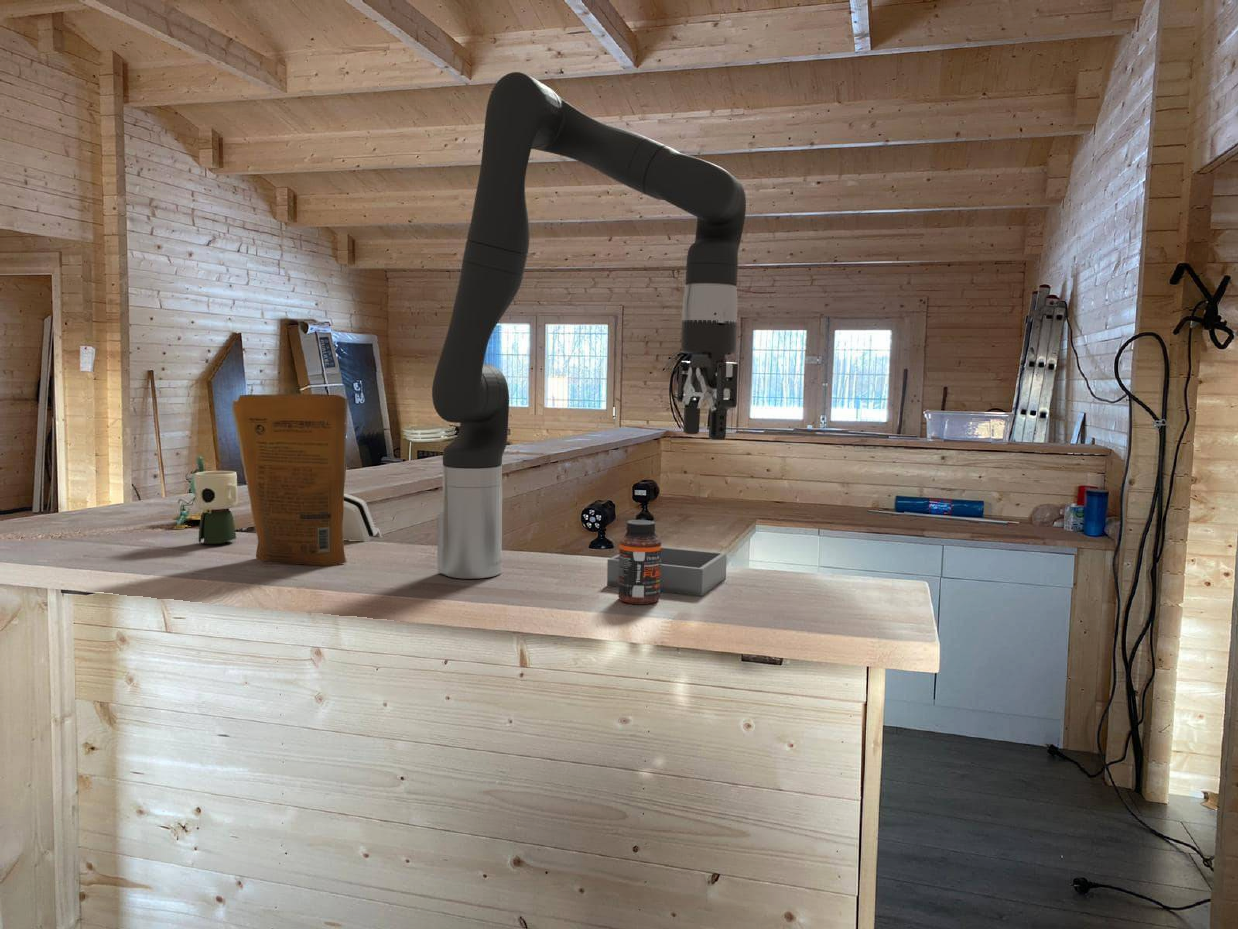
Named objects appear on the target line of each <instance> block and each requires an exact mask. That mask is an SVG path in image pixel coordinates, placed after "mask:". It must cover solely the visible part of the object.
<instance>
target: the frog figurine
mask: <svg viewBox="0 0 1238 929" xmlns="http://www.w3.org/2000/svg"><path fill="white" fill-rule="evenodd" d="M196 461H197V465H198V468H196V469H195V470H194V471H193V475H194V474H195V473H198V472H205V471H206V470H205V466H204V462H203V457H202V456H199V455H198V456H197V457H196ZM214 471H218V470H217V469H216V470H214ZM189 489H190V493H191V494H193V495H194V497H193V498H192V499H190V500H189V501H188V502H187V501H185V500H183V499H180V498H179V499H178V501H177V504H178V505H179V503H180V502H183V503H184V504H182V505H180V508H179V514H177V515H176V516H175V515H174V516H173V517H172V518H171V519H172V521H176V525H173V529H174V530H184V529H186V528H185V527H187V528H191V527H192V526H188V525H189V524H185V522H184V521H188V520H189V521H190V520H200V519H201V515H202V513H203V512H200V513H201V514H199V512H193V514H195V515H191V514H189V513H190V511H191V509H190V508H188V510H186V509H185V507H186V506H193V505H194V504H195V502H194V501H195V488H194V476H193V477H191V480H190V482H189ZM191 502H192V503H191ZM190 503H191V504H190Z"/></svg>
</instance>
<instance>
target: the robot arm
mask: <svg viewBox="0 0 1238 929" xmlns="http://www.w3.org/2000/svg"><path fill="white" fill-rule="evenodd" d="M482 141H483V142H482V153H481V162H480V170H479V177H478V181H477V187H476V192H475V196H474V201H473V202H474V204H473V210H472V213H471V219H470V225H469V228H468V233H467V236H466V240H465V245H464V252H463V256H462V262H461V270H460V276H459V282H458V286H457V291H456V295H455V300H454V303H453V308H452V312H451V313H452V314H451V317H450V321H449V326H448V330H447V333H446V337H445V340H444V343H443V345H442V346H443V347H442V349H441V353H440V355H439V360H438V363H437V366H436V370H435V372H434V373H435V374H434V376H433V380H432V381H433V382H432V389H431V398H432V405H433V406H434V411H435V412H436V413H437V415H438V416H439V417H440V418H441V419H442V420H443V421H445V422H448V423H452V424H459V431H458V433H457V435H456V437H454V439H453V440H452V441H451V442H450V443H448V444H447V445H446V446H445V447H444V448H443V450H442V512H439V513H438V514H437V519H436V520H437V523H436V524H437V574H442V575H444V576H447V577H450V578H456V579H470V580H471V579H472V580H473V579H485V578H490V577H491V578H492V577H495V576H498V575H500V574H501V573H502V563H503V559H502V558H503V557H502V556H503V554H502V547H503V542H502V540H503V536H502V535H503V534H502V531H503V522H502V521H503V519H502V518H503V511H502V510H503V466H502V465H503V456H504V455H503V454H504V452H505V450H506V447H507V443H508V435H509V434H508V433H509V419H510V418H509V417H510V416H509V414H510V392H509V386H508V382H507V379H506V377H505V375H504V373H503V371H502V370H500V369H499V368H498V367H497V366H494V365H492V364H489V363H484V361H485V358H486V353H487V350H488V349H487V348H488V345H489V342H490V338H491V336H492V334H493V332H494V330H495V328H496V327H497V324H498V323H499V321H500V320H501V319H502V317H503V316H504V314H505V312H506V311H507V309H508V308H509V307H510V305H512V302H513V300H515V298H516V295H517V293H518V292H519V289H520V287H521V285H522V281H523V279H524V273H525V268H526V264H527V260H528V254H529V249H530V236H531V235H530V223H529V222H530V221H529V215H528V206H527V200H526V176H527V169H528V164H529V160H530V156H531V152H532V150H535V151H541V152H544V153H548V154H554V155H559V156H562V157H566V158H569V159H573V160H575V161H577V162H579V163H583V164H584V165H587V166H589V167H591V168H593V169H594V170H596V171H598V172H600V173H601V174H603V175H605V176H606V177H609V178H611V179H612V180H614V181H616V182H618V183H620V184H622V185H624V186H626V187H629V189H633V190H634V191H637V192H639V193H641V194H644V195H646V196H648V197H651V198H653V199H656V200H660V201H665V202H667V203H669V204H670V205H673V206H675V207H676V208H678V209H681V210H682V211H685V212H686V213H688V214H690V215H692V216H694V217H696V231H695V239H694V243H692V244H691V245H690V246H689V248H688V250H687V257H686V266H685V267H686V268H685V286H684V287H685V288H684V294H683V300H682V312H681V316H682V317H681V335H680V336H681V337H680V351H681V352H682V353H683V354H690V360H689V361H688V360H680V361H679V365H678V366H679V367H678V368H679V369H678V380H677V382H678V383H677V396H676V397H677V398H676V401H677V402H678V403H681V407H682V408H683V427H682V428H683V429H682V431H683V433H684V434H686V435H698V434H699V433H700V424H701V423H700V421H701V408H700V407H701V405H702V403H703V400H704V399H707V401H708V406H709V408H710V411H709V423H708V424H709V426H708V438H709V439H710V440H713V441H715V440H716V441H723V440H725V439H726V437H727V419H728V418H727V417H728V412H730V411H731V409H735V408H737V405H738V369H739V368H738V367H739V365H738V363H737V362H729V361H727V360H726V356H730V355H731V356H732V355H734V354H735V352H736V343H737V322H738V306H739V305H738V291H737V288H738V287H737V285H738V268H739V260H738V259H739V258H738V256H739V254H738V253H739V249H740V246H741V241H742V235H743V231H744V224H745V221H746V212H747V211H746V210H747V199H746V191H745V189H744V187H743V184H742V183H741V182H740V181H739V180H738V179H737V178H736V177H734V176H733V175H732V173H730V172H729V171H727V170H726V169H724V168H723V167H721V166H719V165H716V164H715V163H712V162H709V161H707V160H704V159H701V158H698V157H695V156H692V155H688V154H683V153H681V152H679V151H678V150H676V149H674V148H673V147H670V146H668V145H666V144H663V143H661V142H659V141H656V140H653V138H652V139H651V138H649V137H647V136H644V135H642V134H639V133H637V132H634V131H632V130H631V131H630V130H628V129H624V128H620V127H617V126H613V125H610V124H606V123H603V122H601V121H599V120H598V119H595V118H593V117H591V116H589V115H587V114H585V113H583V112H582V111H580V110H579V109H577V108H576V107H575V106H573V105H571V104H570V103H569V102H567V101H566V100H564V99H563V98H562V97H561V96H559V95H558V94H557V93H556V92H555V91H554V90H553V89H552V88H550V87H549V86H547V85H545V84H544V83H543V82H541V81H539V80H537V79H536V78H534V77H533V76H530V75H529V74H526V73H524V72H521V71H515V72H514V71H512V72H509V73H507V74H505V75H503V76H501V78H499V80H497V82H496V84H495V85H494V86H493V88H492V90H491V92H490V94H489V97H488V101H487V104H486V112H485V118H484V130H483V140H482ZM728 395H729V396H728Z"/></svg>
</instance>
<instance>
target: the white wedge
mask: <svg viewBox="0 0 1238 929" xmlns="http://www.w3.org/2000/svg"><path fill="white" fill-rule="evenodd" d="M342 532H343V540H347V541H356V542H365V543H366V542H369V541H370V540H371V538H382V533H381V530H380V528H378V527H376V525H375V523H374V520H373V518H372V515H371V512H370V509H369V507H368V505H367V503H366V501H364V500H363V499H362V498H359V497H356V496H354V495H351V494H347V493H345V492H344V515H343V522H342Z"/></svg>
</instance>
